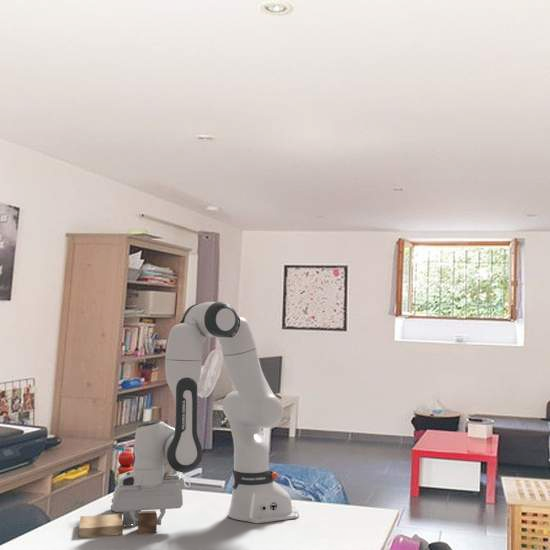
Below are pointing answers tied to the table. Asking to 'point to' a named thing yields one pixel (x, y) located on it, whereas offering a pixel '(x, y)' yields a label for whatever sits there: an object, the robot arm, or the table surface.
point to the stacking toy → (124, 465)
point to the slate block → (128, 517)
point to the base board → (100, 525)
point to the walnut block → (147, 521)
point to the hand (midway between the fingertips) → (147, 525)
